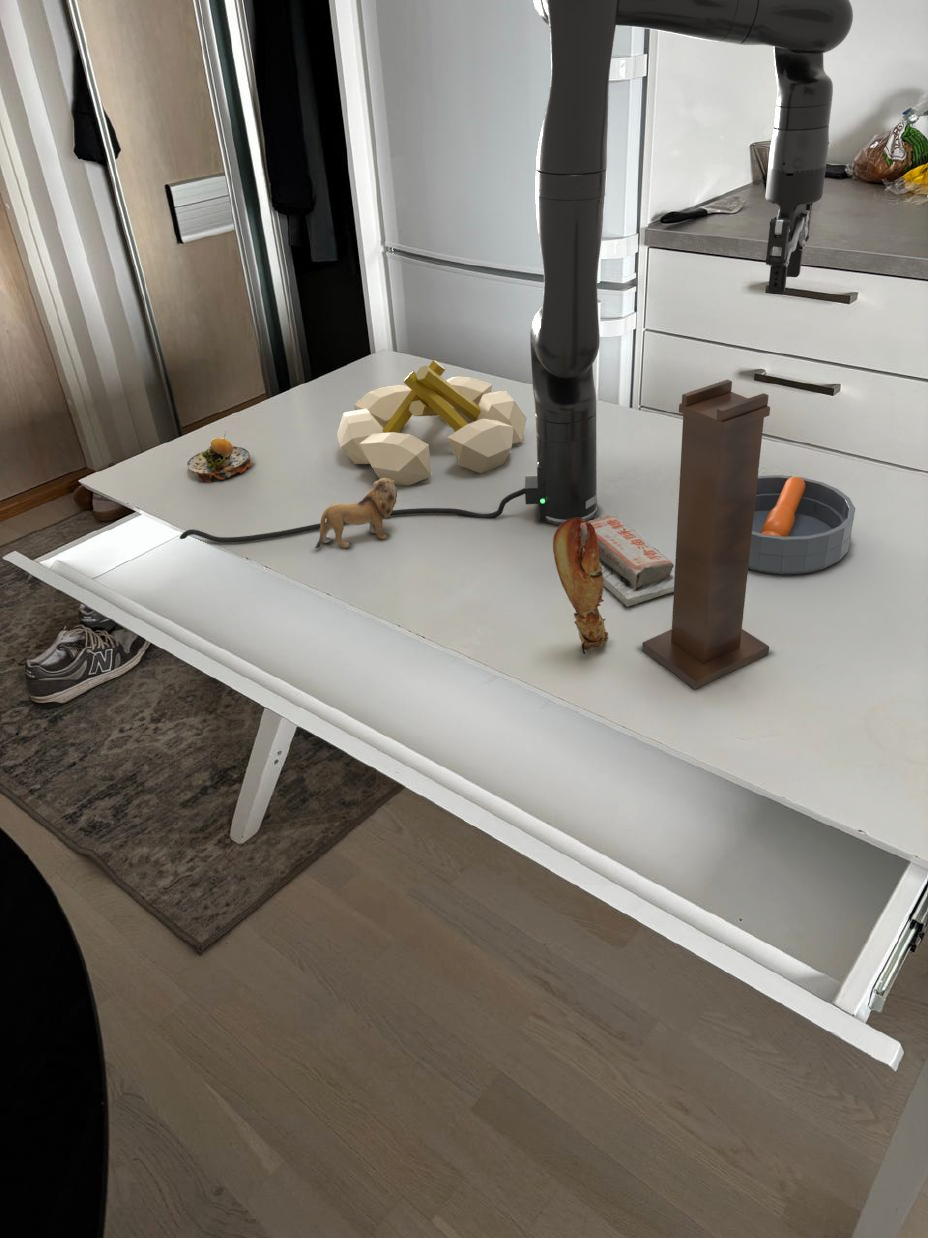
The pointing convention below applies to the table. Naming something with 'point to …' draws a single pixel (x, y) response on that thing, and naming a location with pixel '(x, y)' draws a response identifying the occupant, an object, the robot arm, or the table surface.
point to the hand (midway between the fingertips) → (784, 284)
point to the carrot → (785, 509)
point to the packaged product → (630, 562)
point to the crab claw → (581, 579)
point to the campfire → (428, 394)
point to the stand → (713, 536)
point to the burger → (219, 460)
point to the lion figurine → (360, 512)
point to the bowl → (801, 528)
